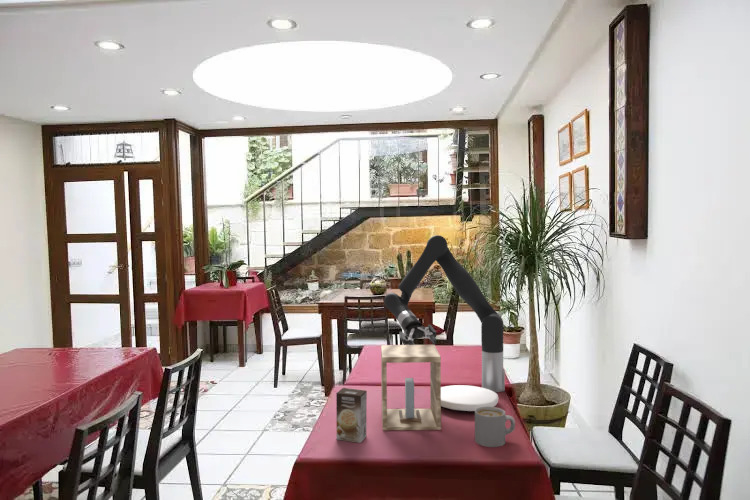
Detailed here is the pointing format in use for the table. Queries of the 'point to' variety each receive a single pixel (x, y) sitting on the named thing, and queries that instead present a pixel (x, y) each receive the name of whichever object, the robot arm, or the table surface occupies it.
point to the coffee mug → (492, 426)
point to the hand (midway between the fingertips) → (424, 345)
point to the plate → (467, 397)
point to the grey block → (409, 397)
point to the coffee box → (351, 414)
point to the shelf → (430, 417)
